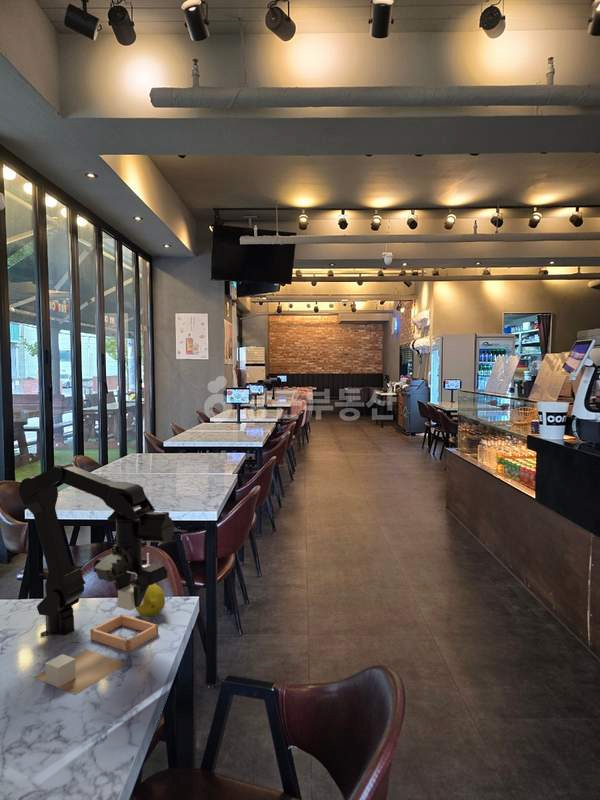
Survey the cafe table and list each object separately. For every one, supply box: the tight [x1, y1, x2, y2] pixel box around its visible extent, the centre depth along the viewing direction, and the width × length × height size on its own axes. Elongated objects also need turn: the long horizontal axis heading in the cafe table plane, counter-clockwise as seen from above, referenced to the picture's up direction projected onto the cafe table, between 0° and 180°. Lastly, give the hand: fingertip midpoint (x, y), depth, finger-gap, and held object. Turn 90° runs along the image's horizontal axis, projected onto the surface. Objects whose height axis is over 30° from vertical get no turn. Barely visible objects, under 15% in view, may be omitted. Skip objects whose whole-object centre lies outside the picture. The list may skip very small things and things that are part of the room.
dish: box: [89, 614, 159, 652], centre depth 129 cm, size 12×9×3 cm
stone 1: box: [44, 653, 76, 689], centre depth 110 cm, size 4×4×4 cm
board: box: [33, 649, 128, 696], centre depth 114 cm, size 13×13×1 cm
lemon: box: [135, 584, 166, 618], centre depth 142 cm, size 11×8×8 cm
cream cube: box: [117, 584, 143, 612], centre depth 127 cm, size 4×4×4 cm
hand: (130, 604), depth 127 cm, fingers closed on cream cube, 4 cm apart
